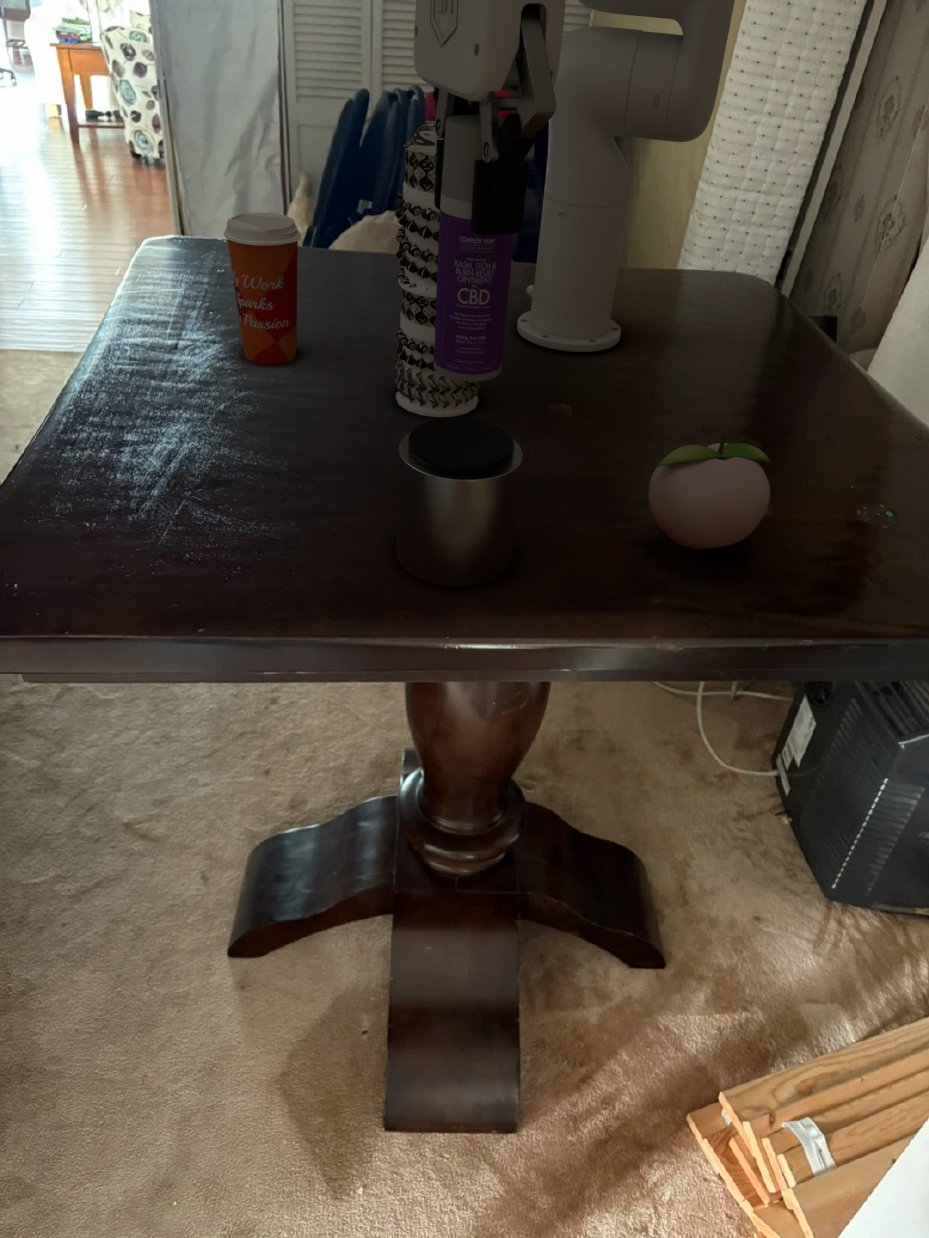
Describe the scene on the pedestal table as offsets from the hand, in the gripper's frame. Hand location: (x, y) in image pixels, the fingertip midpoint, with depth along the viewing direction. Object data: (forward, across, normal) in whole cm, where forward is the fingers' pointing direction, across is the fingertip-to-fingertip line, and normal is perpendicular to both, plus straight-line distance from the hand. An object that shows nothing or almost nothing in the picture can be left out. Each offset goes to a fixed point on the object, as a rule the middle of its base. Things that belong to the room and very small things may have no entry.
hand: (476, 217), depth 57 cm
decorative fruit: (+25, +6, +19) cm, 32 cm away
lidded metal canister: (+25, 0, 0) cm, 25 cm away
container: (+10, 0, 0) cm, 10 cm away
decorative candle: (+25, -27, +10) cm, 38 cm away
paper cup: (+25, -43, -3) cm, 50 cm away
